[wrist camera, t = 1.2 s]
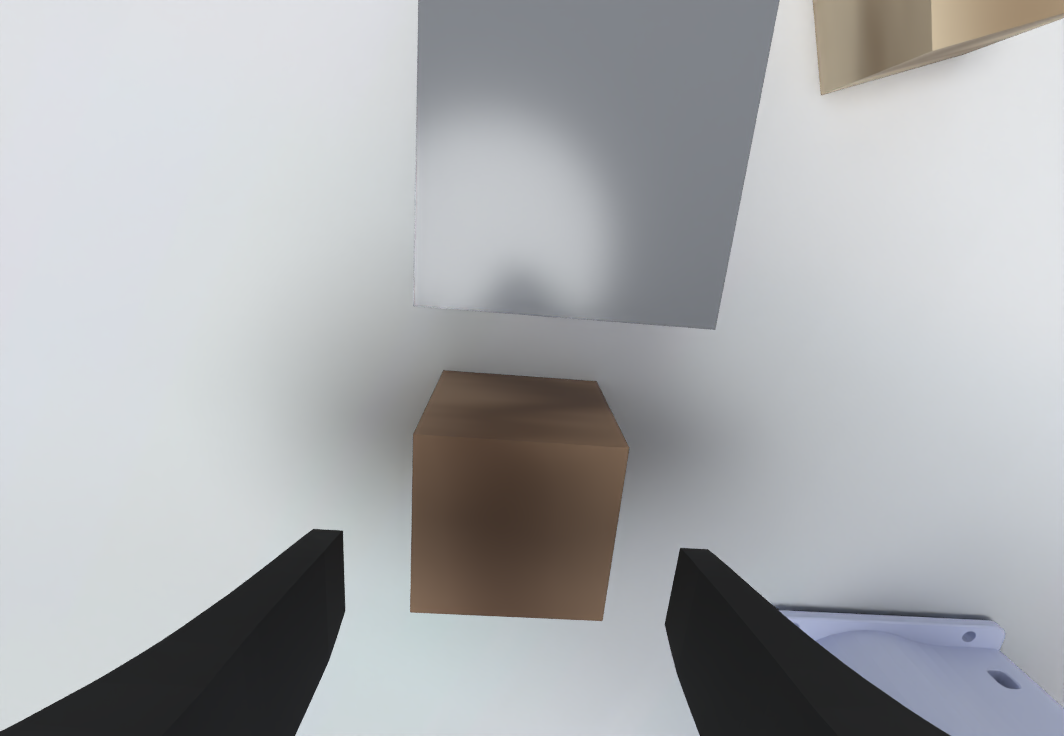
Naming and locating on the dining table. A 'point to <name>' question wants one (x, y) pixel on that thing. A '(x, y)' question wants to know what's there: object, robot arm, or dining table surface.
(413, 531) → the walnut cube
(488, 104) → the slate base
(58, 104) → the dining table surface
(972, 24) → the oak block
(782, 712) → the robot arm
